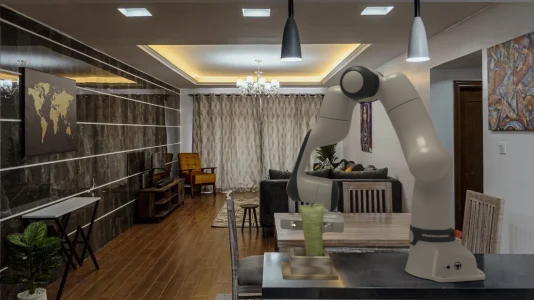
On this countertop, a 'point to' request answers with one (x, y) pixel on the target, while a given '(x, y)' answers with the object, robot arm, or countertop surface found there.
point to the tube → (312, 228)
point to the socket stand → (308, 266)
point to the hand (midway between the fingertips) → (308, 228)
